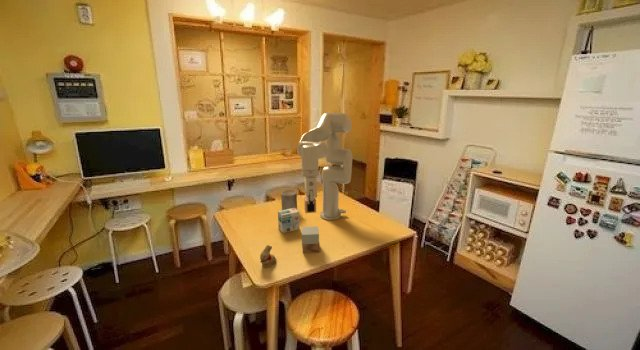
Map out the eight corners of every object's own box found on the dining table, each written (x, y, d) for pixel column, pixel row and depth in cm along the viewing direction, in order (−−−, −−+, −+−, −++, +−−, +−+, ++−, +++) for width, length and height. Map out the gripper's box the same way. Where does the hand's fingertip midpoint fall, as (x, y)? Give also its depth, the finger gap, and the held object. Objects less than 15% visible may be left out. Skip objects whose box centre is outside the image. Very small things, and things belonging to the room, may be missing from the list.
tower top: (317, 235, 144) (317, 226, 142) (318, 243, 136) (318, 234, 135) (302, 235, 143) (301, 226, 142) (302, 244, 136) (302, 234, 134)
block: (314, 208, 138) (314, 196, 136) (316, 212, 133) (316, 200, 132) (304, 208, 138) (304, 197, 136) (305, 213, 133) (305, 201, 131)
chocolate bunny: (258, 263, 129) (257, 243, 126) (275, 258, 132) (274, 239, 129) (261, 269, 124) (260, 249, 121) (279, 265, 127) (278, 245, 125)
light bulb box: (282, 233, 156) (281, 215, 153) (278, 228, 161) (277, 210, 158) (300, 229, 160) (299, 211, 157) (295, 224, 166) (295, 207, 163)
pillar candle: (290, 208, 189) (289, 186, 184) (300, 212, 182) (299, 190, 178) (278, 212, 182) (277, 190, 178) (288, 217, 176) (287, 194, 171)
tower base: (317, 244, 145) (317, 235, 144) (319, 252, 138) (319, 243, 136) (302, 245, 145) (301, 236, 143) (302, 253, 137) (302, 244, 135)
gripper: (320, 177, 122) (320, 216, 128) (316, 167, 139) (316, 202, 144) (303, 177, 122) (303, 217, 127) (300, 167, 138) (301, 202, 143)
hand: (310, 208), depth 135 cm, fingers closed on block, 5 cm apart
